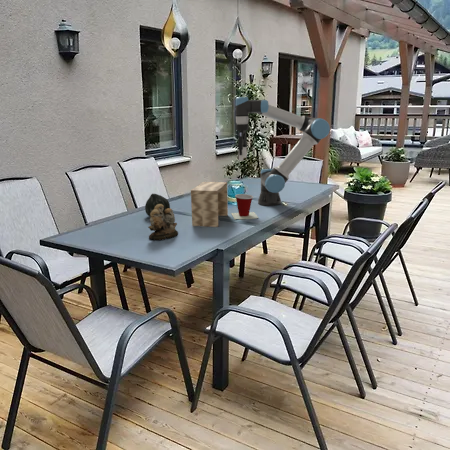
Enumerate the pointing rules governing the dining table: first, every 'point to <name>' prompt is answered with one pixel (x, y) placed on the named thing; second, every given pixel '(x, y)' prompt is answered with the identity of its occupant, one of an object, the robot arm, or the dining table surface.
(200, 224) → the oak cabinet
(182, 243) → the dining table surface
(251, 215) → the mat
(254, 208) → the dining table surface
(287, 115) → the robot arm
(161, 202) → the squash
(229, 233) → the dining table surface
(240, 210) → the plastic cup
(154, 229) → the owl figurine
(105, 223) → the dining table surface
